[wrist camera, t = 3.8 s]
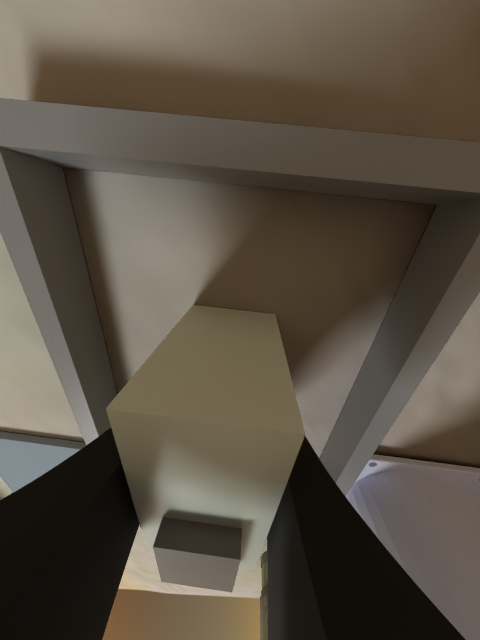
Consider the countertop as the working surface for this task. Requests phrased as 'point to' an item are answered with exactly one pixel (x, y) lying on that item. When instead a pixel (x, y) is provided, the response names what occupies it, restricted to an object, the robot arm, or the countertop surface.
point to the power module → (209, 443)
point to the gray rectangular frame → (251, 170)
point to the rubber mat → (31, 457)
